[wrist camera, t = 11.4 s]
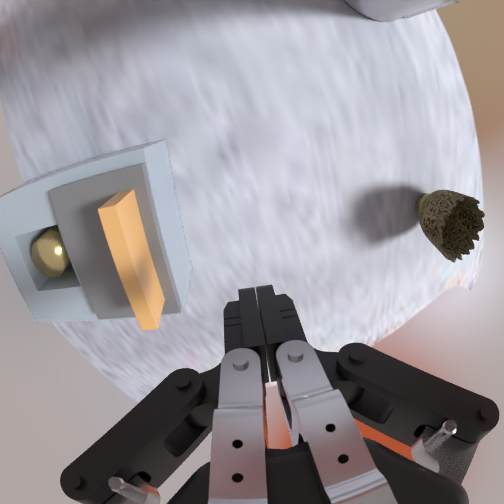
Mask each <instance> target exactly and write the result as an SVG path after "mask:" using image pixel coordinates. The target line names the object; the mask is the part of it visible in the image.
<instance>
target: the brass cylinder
mask: <svg viewBox="0 0 504 504" xmlns="http://www.w3.org/2000/svg"><path fill="white" fill-rule="evenodd" d="M31 254H32V259H33V262H34V264H35V265H36V267H37V268H38V270H39V271H40V272H41V273H43V274H44V275H46V276H48V277H51V278H56V277H59V276H60V275H61V274H62V273H63V271H64V270H65V269H66V267H67V266H68V265H69V264H70V262H71V261H70V258H69V256H68V253H67V250H66V248H65V245H64V242H63V239H62V237H61V234H60V231H59V228H58V225H53V226H52V227H51V228H50V229H49V230H48V231H47V232H46V233H44V234H43V235H42V236H41V237H40V238H39V239H38V240H37V241H36V242H35V243H34V244H33V246H32V250H31Z"/></svg>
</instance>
